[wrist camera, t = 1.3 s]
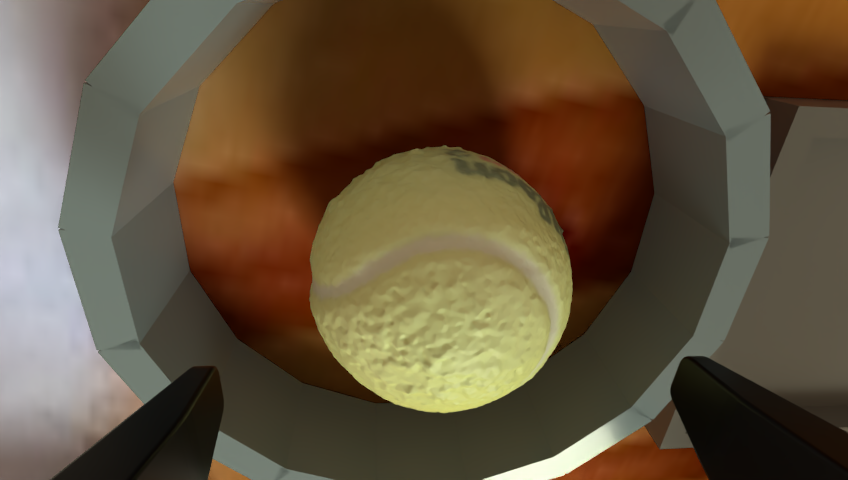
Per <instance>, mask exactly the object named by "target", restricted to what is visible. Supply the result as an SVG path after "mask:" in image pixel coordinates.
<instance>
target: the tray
mask: <svg viewBox="0 0 848 480" xmlns="http://www.w3.org/2000/svg"><path fill="white" fill-rule="evenodd" d="M763 97H764V99H765V101H766V104H767V106H768V108H769V110H770V112H768V113H771V133H770V220H769V236H767V237H768V238H769V239H768V241H767V243H766V246H765V248H764V250H763V253H762V255H761V257H760V260H759V262H758V264H757V266H756V269H755V271H754V273H753V276H752V278H751V280H750V283H749V285H748V287H747V290H746V292H745V294H744V297H743V299H742V301H741V303H740V306H739V308H738V310H737V313H736V315H735V317H734V320H733V322H732V324H731V327H730V329H729V331H728V334H727V336H726V338H725V340H722V341H723V343H722V344H721V345H720V346H719V347H718V349H717V350H716V351H715V352H714V353H713V354H712V355H711V356H710V357H709V358H710V359H712V360H713V361H715V362H717V363H719V364H721V365H723V366H725V367H727V368H728V369H730V370H732V371H734V372H736V373H738V374H740V375H742V376H743V377H745V378H747V379H749V380H751V381H753V382H755V383H756V384H758V385H760V386H762V387H764V388H766V389H768V390H770V391H771V392H773V393H775V394H777V395H779V396H781V397H783V398H784V399H786V400H788V401H790V402H792V403H794V404H796V405H798V406H799V407H801V408H803V409H805V410H807V411H809V412H811V413H812V414H814V415H816V416H818V417H820V418H822V419H824V420H826V421H827V422H829V423H831V424H833V425H835V426H837V427H839V428H840V429H842V430H844V431H846V432H848V100H829V99H808V98H787V97H767V96H763ZM651 420H652V421H651V422H649V423H648V424H646V425H644V426H645V427H646V429H647V430H648V432H649V434H650V435H651V437H652V438H653V440H654V441H655V443H656V444H657V446H658V448H659V449H674V448H694V447H693V445H692V443H691V441H690V439H689V436H688V434H687V432H686V430H685V428H684V425H683V423H682V421H681V419H680V416H679V414H678V412H677V410H676V408H675V405H674V403H673V401H672V400H671V401H670V402H669V403H668V404H667V405H666V406H665V407H664V408H663V409H662V411H661V412H660V413H659V414H658V415H657V416H656V417H655V418H654V419H651Z"/></svg>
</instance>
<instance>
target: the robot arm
mask: <svg viewBox="0 0 848 480" xmlns="http://www.w3.org/2000/svg"><path fill="white" fill-rule="evenodd" d="M670 394H671V398H672V401H673V403H674V405H675V408H676V410H677V412H678V414H679V416H680V419H681V421H682V423H683V425H684V428H685V430H686V432H687V434H688V436H689V439H690V441H691V443H692V445H693V447H694V450H695V452H696V454H697V456H698V459H699V461H700V463H701V465H702V467H703V469H704V471H705V473H706V475H707V477H708V478H709V480H848V432H846V431H844V430H842V429H840V428H839V427H837V426H835V425H833V424H831V423H829V422H827V421H826V420H824V419H822V418H820V417H818V416H816V415H814V414H812V413H811V412H809V411H807V410H805V409H803V408H801V407H799V406H798V405H796V404H794V403H792V402H790V401H788V400H786V399H784V398H783V397H781V396H779V395H777V394H775V393H773V392H771V391H770V390H768V389H766V388H764V387H762V386H760V385H758V384H756V383H755V382H753V381H751V380H749V379H747V378H745V377H743V376H742V375H740V374H738V373H736V372H734V371H732V370H730V369H728V368H727V367H725V366H723V365H721V364H719V363H717V362H715V361H713V360H712V359H710V358H708V357H705V356H686V357H684V358H683V359H682V360H681V361H680V363H679V366H678V368H677V371H676V373H675V376H674V379H673V381H672V384H671V387H670ZM223 410H224V397H223V391H222V386H221V380H220V374H219V371H218V369H217V367H215V366H193V367H191V368H189V369H188V370H187V371H186V372H184V373H183V374H182V375H181V376H179V377H178V378H177V379H176V380H174V381H173V382H172V383H171V384H169V385H168V386H167V387H166V388H164V389H163V390H162V391H161V392H159V393H158V394H157V395H156V396H154V397H153V398H152V399H151V400H149V401H148V402H147V403H146V404H144V405H143V406H142V407H141V408H139V409H138V410H137V411H136V412H134V413H133V414H132V415H131V416H129V417H128V418H127V419H126V420H124V421H123V422H122V423H121V424H119V425H118V426H117V427H116V428H114V429H113V430H112V431H111V432H109V433H108V434H107V435H105V436H104V437H103V438H102V439H100V440H99V441H98V442H97V443H95V444H94V445H93V446H92V447H90V448H89V449H88V450H87V451H85V452H84V453H83V454H82V455H80V456H79V457H78V458H77V459H75V460H74V461H73V462H72V463H70V464H69V465H68V466H67V467H65V468H64V469H63V470H62V471H60V472H59V473H58V474H57V475H55V476H54V477H53V478H52V479H50V480H208V476H209V471H210V467H211V463H212V458H213V454H214V450H215V445H216V441H217V437H218V432H219V428H220V424H221V420H222V415H223Z"/></svg>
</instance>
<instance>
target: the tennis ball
mask: <svg viewBox="0 0 848 480" xmlns="http://www.w3.org/2000/svg"><path fill="white" fill-rule="evenodd" d="M562 233H563V230H562V228H561V227H560V226H559V225H558V222H557V220H556V218H555V216H554V213H553V211H552V209H551V208H550V207H549V206H548V205H547V204H546V202H545V200H544V199H542V198H541V196H540V195H539V194H538V193H537V192H536V191H535V190H534V189H533V188H532V187H531V186H530V185H529V184H528V183H527V182H526V181H524V180H523V179H522V178H521V177H520V176H519V175H518V174H516V173H515V172H514V171H513V170H511V169H509V168H507V167H506V166H504V165H502V164H500V163H499V162H497V161H495V160H494V159H492V158H490V157H488V156H484V155H480V154H477V153H474V152H472V151H467V150H463V149H462V148H461V147H447V146H446V145H443V146H441V147H426V148H424V149H417V148H416V149H413V150H411V151H407V152H403V153H398V154H394V155H392V156H390V157H388V158H386V159H382V160H380V161H379V162H376V163H375V164H374V166H373V167H372V168H371V169H368V170H366V171H365V172H364V174H363V175H358V176H357V177H356V178H353V180H352V182H351V183H350V184H349V185H348V186H347V187H346V188H344V190H343V191H342V192H341V193H340V194H339V195H338V196H337V197H336V198H333V199H332V200H331V201H330V202H329V203H328V205H327V208H326V211H325V213H324V216H323V218H322V221H321V222H320V224H319V225H318V231H317V234H316V236H315V239H314V241H313V243H312V250H311V255H310V263H311V270H312V284H311V288H310V298H309V300H310V308H311V311H312V314H313V316H314V318H315V321H316V325H317V328H318V330H319V332H320V334H321V336H322V337H323V339H324V342H325V343H326V345H327V346H328V349H329V350H330V351H331V352H332V354H333V356H334V358H336V359H337V361H338V362H339V363H340V364H341V365H342V366H343V367H344V368H345V369H346V370H347V371H348V372H349V373H350V374H352V376H353V377H354V378H355V379H356V380H357V381H358V382H359V383H360V384H362V385H364V386H365V387H366V388H368V389H369V390H371V391H373V392H374V393H376V394H377V395H379V396H381V397H382V398H383V399H385V400H388V401H390V402H393V403H394V404H396V405H400V406H403V407H407V408H412V409H416V410H419V411H425V412H440V413H448V412H456V411H462V410H468V409H472V408H477V407H479V406H483V405H485V404H487V403H491V402H492V401H495V400H497V399H499V398H501V397H503V396H505V395H507V394H509V393H510V392H512V391H513V390H515V389H517V388H518V387H520V386H522V385H524V384H525V383H526V382H527V381H529V380H530V379H532V378H533V377H534V375H535V374H536V373H537V372H538V371H539V370H540V369H541V368H542V367H543V365H544V364H545V362H546V361H547V359H548V357H549V356H550V355H551V354H552V352H553V351H554V350H555V348H556V346H557V344H558V342H559V341H560V339H561V337H562V334H563V331H564V330H565V328H566V324H567V321H568V318H569V315H570V307H571V302H572V291H573V288H572V285H573V283H572V269H571V264H570V257H569V253H568V249H567V246H566V243H565V240H564V238H563V235H562Z"/></svg>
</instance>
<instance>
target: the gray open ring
mask: <svg viewBox="0 0 848 480" xmlns="http://www.w3.org/2000/svg"><path fill="white" fill-rule="evenodd" d="M279 1H281V0H150V1H149V2H148V4H147V5H146V6H145V7H144V8H143V10H142V11H141V12H140V13H139V15H138V16H137V17H136V18H135V20H134V21H133V22H132V23H131V24H130V26H129V27H128V28H127V29H126V31H125V32H124V33H123V34H122V36H121V37H120V38H119V39H118V40H117V42H116V43H115V44H114V45H113V47H112V48H111V49H110V50H109V51H108V53H107V54H106V55H105V56H104V58H103V59H102V60H101V61H100V63H99V64H98V65H97V66H96V67H95V69H94V70H93V71H92V72H91V74H90V75H89V76H88V77H87V78H86V80H85V81H86V83H84V84H83V90H82V96H81V101H80V107H79V113H78V118H77V124H76V130H75V135H74V141H73V146H72V152H71V158H70V163H69V169H68V175H67V180H66V186H65V192H64V197H63V203H62V209H61V214H60V220H59V226H58V228H61V229H59V234H60V237H61V240H62V243H63V246H64V249H65V252H66V255H67V259H68V262H69V265H70V268H71V271H72V274H73V277H74V281H75V284H76V287H77V290H78V293H79V296H80V299H81V302H82V306H83V309H84V312H85V315H86V318H87V321H88V324H89V327H90V331H91V334H92V337H93V340H94V343H95V346H96V349H97V350H99V351H98V353H99V354H100V355H101V356H102V357H103V358H104V360H105V361H106V362H107V363H108V364H109V365H110V366H111V367H112V369H113V370H114V371H115V372H116V373H117V374H118V375H119V376H120V378H121V379H122V380H123V381H124V382H125V383H126V384H127V385H128V386H129V388H130V389H131V390H132V391H133V392H134V393H135V394H136V395H137V397H138V398H139V399H140V400H141V401H142V402H143V403H144V404H146V403H147V402H148V401H149V400H151V399H152V398H153V397H154V396H156V395H157V394H158V393H159V392H161V391H162V390H163V389H164V388H166V387H167V386H168V385H169V384H171V383H172V382H173V381H174V380H176V379H177V378H178V377H179V376H181V375H182V374H183V373H184V372H186V371H187V370H188V369H189V368H191V367H193V366H215V367H217V369H218V371H219V374H220V380H221V386H222V391H223V397H224V410H223V415H222V420H221V424H220V428H219V432H218V437H217V441H216V445H215V450H214V454H213V459H214V460H216V461H218V462H220V463H222V464H224V465H226V466H227V467H229V468H231V469H233V470H235V471H237V472H238V473H240V474H242V475H244V476H246V477H248V478H250V479H251V480H549V479H553V478H556V477H559V476H562V475H565V473H566V474H567V473H569V472H570V471H572V470H574V469H575V468H577V467H578V466H580V465H582V464H583V463H585V462H587V461H588V460H590V459H591V458H593V457H595V456H596V455H598V454H599V453H601V452H603V451H604V450H606V449H607V448H609V447H611V446H612V445H614V444H615V443H617V442H619V441H620V440H622V439H623V438H625V437H627V436H628V435H630V434H632V433H633V432H635V431H636V430H638V429H640V428H641V427H643V426H644V425H646V424H648V423H649V422H651V421H652V420H651V419H654V418H655V417H656V416H657V415H658V414H659V413H660V412H661V411H662V409H663V408H664V407H665V406H666V405H667V404H668V403H669V402H670V401H671V400H672V398H671V394H670V387H671V384H672V381H673V379H674V376H675V373H676V371H677V368H678V366H679V363H680V361H681V360H682V359H683V358H684V357H686V356H705V357H708V358H709V357H710V356H711V355H712V354H713V353H714V352H715V351H716V350H717V349H718V347H719V346H720V345H721V344H722V343H723V341H722V340H725V338H726V336H727V334H728V331H729V329H730V327H731V324H732V322H733V320H734V317H735V315H736V313H737V310H738V308H739V306H740V303H741V301H742V299H743V297H744V294H745V292H746V290H747V287H748V285H749V283H750V280H751V278H752V276H753V273H754V271H755V269H756V266H757V264H758V262H759V260H760V257H761V255H762V253H763V250H764V248H765V246H766V243H767V241H768V239H769V238H768V237H767V236H769V220H770V133H771V113H768V112H770V110H769V108H768V106H767V104H766V101H765V99H764V97H763V95H762V93H761V91H760V89H759V87H758V85H757V83H756V81H755V79H754V77H753V75H752V73H751V71H750V69H749V67H748V65H747V63H746V61H745V59H744V57H743V55H742V53H741V51H740V49H739V47H738V45H737V43H736V41H735V39H734V37H733V35H732V33H731V31H730V29H729V27H728V24H727V22H726V20H725V18H724V16H723V14H722V12H721V10H720V8H719V6H718V4H717V2H716V0H553V1H555V2H557V3H558V4H560V5H562V6H563V7H565V8H567V9H568V10H570V11H572V12H573V13H575V14H577V15H578V16H580V17H582V18H583V19H585V20H587V21H588V22H590V23H592V24H593V25H594V27H595V29H596V30H597V32H598V33H599V35H600V37H601V38H602V40H603V41H604V43H605V44H606V46H607V48H608V49H609V51H610V52H611V54H612V56H613V57H614V59H615V60H616V62H617V63H618V65H619V67H620V68H621V70H622V71H623V73H624V75H625V76H626V78H627V79H628V81H629V82H630V84H631V86H632V87H633V89H634V90H635V92H636V93H637V95H638V97H639V98H640V100H641V101H642V103H643V105H644V107H645V116H646V124H647V133H648V142H649V150H650V159H651V167H652V176H653V185H654V196H653V200H652V203H651V206H650V210H649V213H648V217H647V220H646V223H645V227H644V230H643V233H642V237H641V240H640V244H639V247H638V250H637V254H636V257H635V260H634V264H633V267H632V271H631V272H630V274H629V275H628V276H627V278H626V279H625V280H624V282H623V283H622V284H621V286H620V287H619V288H618V290H617V291H616V292H615V294H614V295H613V296H612V298H611V299H610V300H609V302H608V303H607V304H606V306H605V307H604V308H603V310H602V311H601V312H600V314H599V315H598V316H597V318H596V319H595V320H594V322H593V323H592V324H591V326H590V327H589V328H588V330H587V331H586V332H585V334H584V335H582V336H581V337H579V338H578V339H577V340H575V341H574V342H572V343H571V344H569V345H568V346H567V347H565V348H564V349H562V350H561V351H559V352H558V353H557V354H555V355H554V356H552V357H551V358H549V359H548V360H547V361H546V362H545V364H544V365H543V367H542V368H541V369H540V370H539V371H538V372H537V373H536V374H535V375H534V377H533V378H532V379H530V380H529V381H527V382H526V383H525V384H524V385H522V386H520V387H518V388H517V389H515V390H513V391H512V392H510V393H509V394H507V395H505V396H503V397H501V398H499V399H497V400H495V401H492V402H491V403H487V404H485V405H483V406H479V407H477V408H472V409H468V410H462V411H456V412H448V413H440V412H425V411H419V410H416V409H412V408H407V407H403V406H400V405H396V404H394V403H373V402H369V401H366V400H362V399H358V398H355V397H351V396H347V395H344V394H340V393H337V392H333V391H329V390H326V389H322V388H318V387H315V386H311V385H308V384H304V383H301V382H300V381H298V380H297V379H296V378H294V377H293V376H291V375H290V374H288V373H287V372H285V371H284V370H282V369H281V368H279V367H278V366H276V365H275V364H273V363H272V362H271V361H269V360H268V359H266V358H265V357H263V356H262V355H260V354H259V353H257V352H256V351H254V350H253V349H251V348H250V347H248V346H247V345H245V344H244V343H243V342H241V341H240V340H238V339H237V338H236V337H235V335H234V334H233V332H232V331H231V329H230V328H229V326H228V325H227V324H226V322H225V321H224V319H223V318H222V316H221V315H220V313H219V312H218V310H217V309H216V308H215V306H214V305H213V303H212V302H211V300H210V299H209V297H208V296H207V295H206V293H205V292H204V290H203V289H202V287H201V286H200V284H199V283H198V282H197V280H196V279H195V277H194V276H193V274H192V273H191V271H190V268H189V263H188V258H187V253H186V247H185V242H184V237H183V231H182V226H181V221H180V215H179V210H178V205H177V200H176V194H175V189H174V184H173V181H174V178H175V174H176V170H177V167H178V163H179V159H180V156H181V152H182V148H183V145H184V141H185V138H186V134H187V130H188V127H189V123H190V119H191V116H192V112H193V108H194V105H195V101H196V97H197V94H198V90H199V86H200V85H201V84H202V83H203V82H204V81H205V80H206V78H207V77H208V76H209V75H210V74H211V73H212V72H213V71H214V70H215V68H216V67H217V66H218V65H219V64H220V63H221V62H222V61H223V59H224V58H225V57H226V56H227V55H228V54H229V53H230V52H231V51H232V49H233V48H234V47H235V46H236V45H237V44H238V43H239V42H240V41H241V39H242V38H243V37H244V36H245V35H246V34H247V33H248V32H249V31H250V29H251V28H252V27H253V26H254V25H255V24H256V23H257V22H258V21H259V19H260V18H261V17H262V16H263V15H264V14H265V13H266V12H267V11H268V9H269V8H270V7H271V6H272V5H273V4H274V3H276V2H279ZM564 472H565V473H564Z"/></svg>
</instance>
